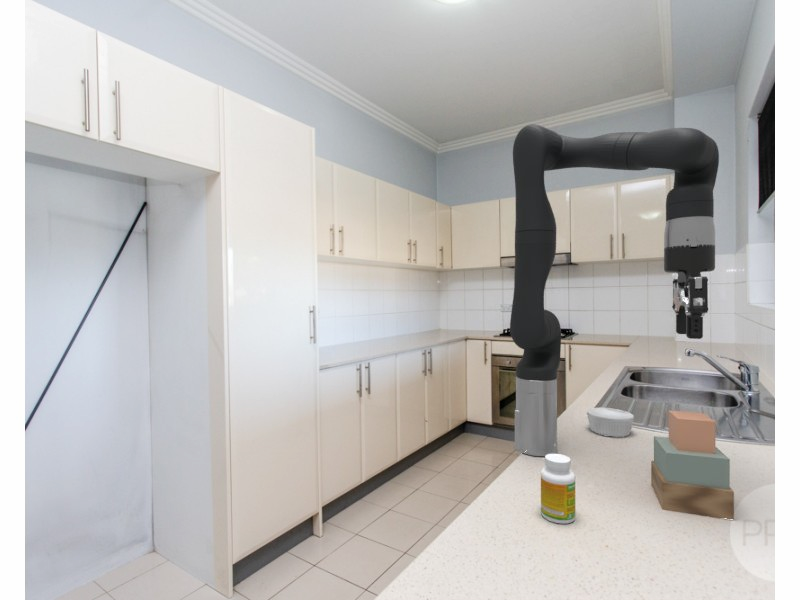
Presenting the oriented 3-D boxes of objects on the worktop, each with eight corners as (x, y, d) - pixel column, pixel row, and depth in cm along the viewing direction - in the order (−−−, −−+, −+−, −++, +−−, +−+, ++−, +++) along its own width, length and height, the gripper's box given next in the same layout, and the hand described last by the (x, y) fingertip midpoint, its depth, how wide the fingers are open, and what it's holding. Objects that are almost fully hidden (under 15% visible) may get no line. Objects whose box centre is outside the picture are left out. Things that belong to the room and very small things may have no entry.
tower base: (662, 511, 72) (662, 482, 72) (651, 486, 81) (651, 460, 81) (733, 522, 68) (733, 491, 68) (713, 495, 78) (713, 468, 78)
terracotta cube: (677, 450, 73) (677, 418, 73) (668, 440, 78) (668, 410, 78) (715, 454, 71) (715, 421, 71) (703, 443, 76) (703, 413, 76)
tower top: (666, 481, 72) (666, 452, 72) (653, 462, 80) (653, 436, 80) (729, 489, 69) (729, 459, 69) (709, 468, 77) (709, 441, 77)
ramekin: (638, 431, 113) (638, 412, 113) (627, 442, 105) (627, 421, 105) (594, 423, 121) (594, 405, 121) (581, 433, 112) (581, 413, 112)
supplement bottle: (572, 528, 66) (572, 466, 66) (537, 518, 69) (537, 459, 69) (578, 513, 71) (577, 455, 71) (545, 504, 74) (544, 449, 74)
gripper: (657, 250, 83) (657, 332, 83) (672, 241, 70) (671, 339, 70) (703, 248, 80) (703, 333, 80) (727, 239, 67) (726, 341, 67)
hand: (688, 336), depth 75 cm, fingers open, 8 cm apart
